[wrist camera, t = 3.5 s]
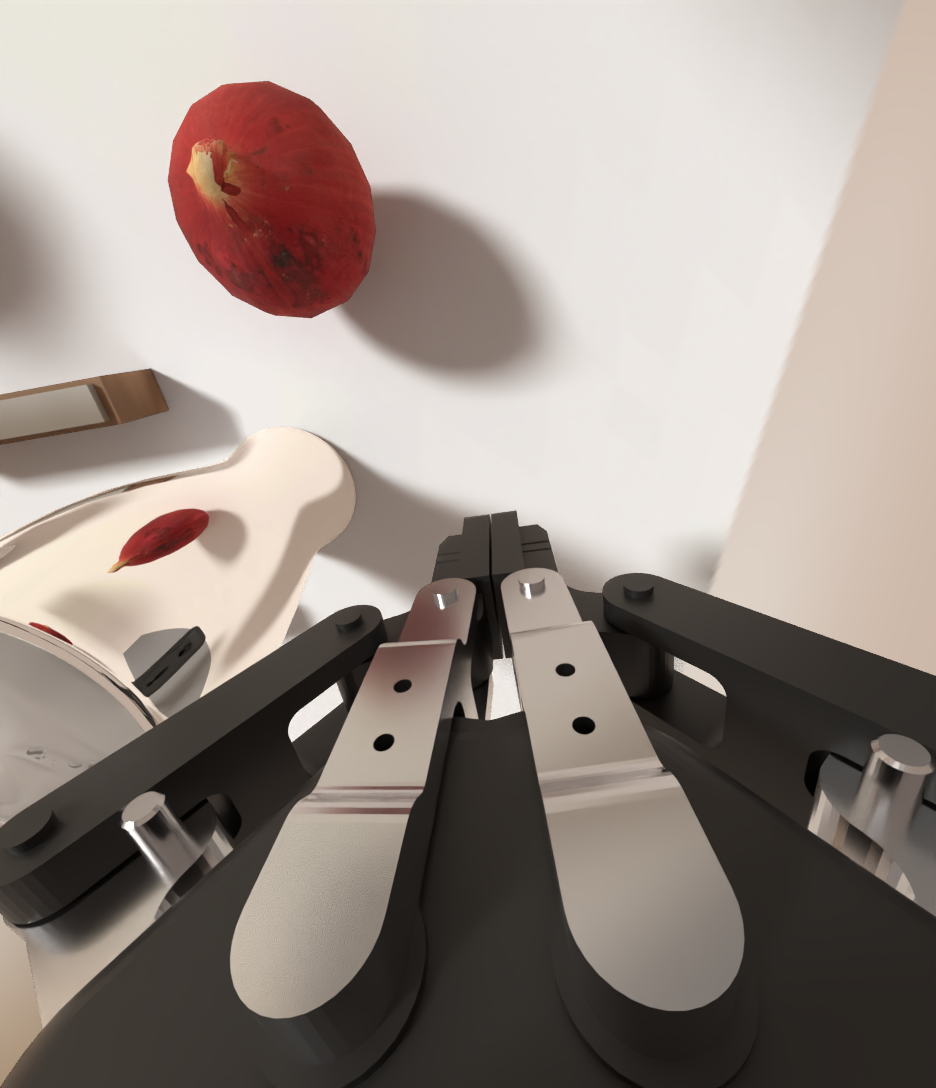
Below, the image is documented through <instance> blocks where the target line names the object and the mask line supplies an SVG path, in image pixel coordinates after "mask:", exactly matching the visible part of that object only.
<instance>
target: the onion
mask: <svg viewBox="0 0 936 1088" xmlns="http://www.w3.org/2000/svg"><path fill="white" fill-rule="evenodd" d="M168 183H169V188H170V192H171V197H172V202H173V206H174V211H175V216H176V220H177V222H178V225H179V227H180V229H181V230H182V232H183V234H184V236H185V238H186V240H187V241H188V243H189V245H190V247H191V249H192V251H193V252H194V254H195V256H196V258H197V260H198V261H199V262H200V263H201V264H202V265H203V266H204V267H205V268H206V269H207V270H208V271H209V272H210V273H211V274H212V275H213V276H214V277H215V278H216V279H217V280H218V281H219V282H220V283H221V284H222V285H223V286H224V287H225V288H226V290H227V291H228V292H229V293H230V294H231V295H232V296H234V297H236V298H238V299H240V300H242V301H244V302H246V303H248V304H250V305H252V306H254V307H256V308H258V309H260V310H262V311H264V312H266V313H269V314H272V315H276V316H289V317H303V318H313V317H315V316H317V315H319V314H321V313H323V312H325V311H327V310H330V309H332V308H334V307H336V306H338V305H340V304H342V303H344V302H346V301H348V300H349V299H350V297H351V296H352V294H353V293H354V292H355V290H356V289H357V287H358V286H359V285H360V283H361V282H362V280H363V279H364V277H365V276H366V275H367V273H368V272H369V266H370V261H371V255H372V249H373V244H374V238H375V232H376V229H375V221H374V213H373V204H372V196H371V188H370V185H369V183H368V180H367V178H366V176H365V174H364V171H363V169H362V167H361V165H360V163H359V160H358V158H357V156H356V154H355V151H354V149H353V147H352V145H351V143H350V142H349V141H348V140H347V139H346V137H345V136H344V135H343V134H342V133H341V132H340V130H339V129H338V128H337V127H336V126H335V125H334V123H333V122H332V121H331V120H330V119H329V118H328V116H327V115H326V114H325V113H324V112H323V111H322V109H321V108H320V107H319V106H317V105H316V104H315V103H314V102H313V101H311V100H310V99H308V98H306V97H304V96H301V95H299V94H297V93H294V92H292V91H290V90H288V89H285V88H283V87H281V86H279V85H276V84H274V83H272V82H269V81H263V82H248V83H234V84H226V85H221V86H220V87H218V88H217V89H215V90H214V91H212V92H211V93H209V94H208V95H206V96H205V97H203V98H201V99H200V100H198V101H197V102H195V103H194V104H192V106H191V107H190V109H189V111H188V113H187V115H186V116H185V118H184V120H183V122H182V124H181V126H180V128H179V130H178V132H177V134H176V136H175V138H174V140H173V145H172V153H171V160H170V168H169V175H168Z"/></svg>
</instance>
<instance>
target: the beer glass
mask: <svg viewBox="0 0 936 1088" xmlns="http://www.w3.org/2000/svg"><path fill="white" fill-rule="evenodd" d="M355 502H356V492H355V485H354V481H353V478H352V475H351V473H350V470H349V468H348V467H347V465H346V463H345V462H344V460H343V459H342V457H341V456H340V455H339V454H338V453H337V452H336V450H335V449H334V448H332V447H331V446H330V445H329V444H328V443H326V442H325V441H324V440H322V439H321V438H319V437H317V436H315V435H313V434H311V433H309V432H306V431H304V430H300V429H296V428H290V427H273V428H268V429H264V430H261V431H258V432H256V433H254V434H253V435H251V436H249V437H248V438H246V439H245V440H244V441H243V442H242V443H241V444H240V445H239V446H238V447H237V448H236V449H235V451H234V452H233V453H232V454H231V455H230V456H229V457H228V458H227V459H226V460H223V462H220V463H218V464H215V465H211V466H207V467H202V468H197V469H192V470H187V471H181V472H177V473H172V474H167V475H162V476H158V477H153V478H148V479H144V480H141V481H137V482H134V483H130V484H127V485H123V486H120V487H116V488H112V489H109V490H106V491H102V492H100V493H97V494H94V495H92V496H89V497H87V498H84V499H82V500H79V501H77V502H75V503H72V504H70V505H67V506H65V507H62V508H60V509H57V510H55V511H52V512H50V513H48V514H46V515H44V516H42V517H40V518H38V519H36V520H34V521H32V522H30V523H28V524H26V525H24V526H22V527H19V528H17V529H15V530H13V531H11V532H9V533H7V534H5V535H3V536H1V537H0V827H1V826H3V825H4V824H5V823H6V822H7V821H9V820H10V819H11V818H13V817H14V816H15V815H16V814H18V813H19V812H21V811H22V810H24V809H25V808H27V807H28V806H30V805H32V804H33V803H35V802H36V801H38V800H40V799H41V798H43V797H44V796H46V795H47V794H49V793H51V792H52V791H54V790H55V789H57V788H59V787H60V786H62V785H63V784H65V783H66V782H68V781H70V780H71V779H73V778H74V777H76V776H77V775H79V774H81V773H82V772H84V771H85V770H87V769H89V768H90V767H92V766H93V765H95V764H96V763H98V762H100V761H101V760H103V759H104V758H106V757H107V756H109V755H111V754H112V753H114V752H115V751H117V750H119V749H120V748H122V747H123V746H125V745H126V744H128V743H130V742H131V741H133V740H134V739H136V738H138V737H139V736H141V735H142V734H144V733H145V732H147V731H149V730H150V729H152V728H153V727H155V726H156V725H158V724H160V723H161V722H163V721H164V720H166V719H168V718H169V717H171V716H172V715H174V714H175V713H177V712H179V711H180V710H182V709H183V708H185V707H187V706H188V705H190V704H191V703H193V702H194V701H196V700H198V699H199V698H201V697H202V696H204V695H205V694H207V693H209V692H210V691H212V690H213V689H215V688H217V687H218V686H220V685H221V684H223V683H224V682H226V681H228V680H229V679H231V678H232V677H234V676H236V675H237V674H239V673H240V672H242V671H243V670H245V669H247V668H248V667H250V666H251V665H253V664H254V663H256V662H258V661H259V660H261V659H262V658H264V657H266V656H267V655H269V654H270V653H272V652H273V651H275V650H277V649H278V648H280V646H281V644H282V642H283V640H284V638H285V636H286V633H287V631H288V629H289V626H290V624H291V622H292V619H293V617H294V615H295V612H296V610H297V607H298V604H299V601H300V598H301V595H302V592H303V589H304V586H305V583H306V580H307V577H308V574H309V571H310V567H311V565H312V562H313V559H314V557H315V555H316V553H317V551H318V550H319V549H321V548H322V547H324V546H325V545H327V544H328V543H329V542H331V541H332V540H334V539H335V538H336V537H337V536H338V535H339V534H340V533H341V532H342V531H343V530H344V529H345V528H346V526H347V525H348V523H349V522H350V520H351V518H352V515H353V512H354V508H355Z"/></svg>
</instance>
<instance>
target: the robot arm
mask: <svg viewBox="0 0 936 1088" xmlns="http://www.w3.org/2000/svg"><path fill="white" fill-rule="evenodd" d="M502 638H503V644H504V650H505V656H506V658H511V657H512V662H513V668H514V675H515V681H516V687H517V692H518V698H519V704H520V709H521V712H518V713H514V714H511V715H508V716H504V717H501V718H498V719H494V720H490V717H491V706H492V695H493V679H492V670H493V659H502V658H503V646H502ZM674 656H675V657H677V658H679V659H681V660H683V661H685V662H687V663H689V664H691V665H693V666H695V667H698V668H699V669H702V670H703V671H706V672H707V673H709V674H711V675H712V676H713V677H715V678H716V679H717V680H718V681H719V682H720V684H721V685H722V686H723V688H724V690H725V692H726V696H727V697H726V696H724V695H722V694H720V693H718V692H716V691H714V690H712V689H710V688H709V687H706V686H705V685H703V684H701V683H699V682H697V681H695V680H693V679H691V678H689V677H687V676H685V675H683V674H682V673H680V672H678V671H676V670H674ZM335 683H337V685H338V688H339V691H340V693H341V696H342V698H343V701H344V702H343V703H341V704H340V705H339V706H337V707H336V708H335V709H334V710H332V711H331V712H330V713H329V714H327V715H326V716H325V717H324V718H322V719H321V720H320V721H319V722H317V723H316V724H315V725H314V726H312V727H311V728H310V729H309V730H307V731H306V732H305V733H303V734H302V735H301V736H300V737H298V738H297V739H296V740H295V741H293V742H291V740H290V738H289V736H288V727H289V723H290V721H291V719H292V718H293V716H294V715H295V714H296V713H297V712H298V711H299V710H300V709H301V708H303V707H304V706H305V705H307V704H308V703H309V702H311V701H312V700H313V699H315V698H316V697H317V696H319V695H320V694H321V693H323V692H324V691H325V690H327V689H328V688H329V687H331V686H332V685H333V684H335ZM0 914H2V915H3V920H4V922H5V924H6V925H7V926H8V927H9V928H11V930H13V931H14V932H15V933H16V934H17V935H18V936H19V937H20V938H21V939H23V940H24V941H25V942H26V946H27V951H28V957H29V962H30V967H31V972H32V977H33V982H34V988H35V993H36V998H37V1003H38V1008H39V1013H40V1019H41V1024H42V1031H41V1032H40V1033H39V1034H38V1035H37V1037H36V1038H35V1039H34V1041H33V1042H32V1043H31V1044H30V1046H29V1047H28V1048H27V1049H26V1051H25V1052H24V1053H23V1054H22V1056H21V1057H20V1059H19V1060H18V1062H17V1063H16V1065H15V1066H14V1067H13V1069H12V1071H11V1072H10V1073H9V1075H8V1076H7V1077H6V1079H5V1080H4V1082H3V1084H2V1085H1V1087H0V1088H936V676H934V675H932V674H929V673H926V672H923V671H920V670H918V669H915V668H912V667H909V666H907V665H903V664H901V663H898V662H895V661H893V660H890V659H887V658H884V657H881V656H879V655H876V654H873V653H870V652H867V651H865V650H862V649H859V648H856V647H853V646H851V645H848V644H845V643H842V642H840V641H837V640H834V639H831V638H829V637H825V636H823V635H820V634H817V633H815V632H812V631H809V630H806V629H803V628H801V627H798V626H795V625H792V624H790V623H787V622H784V621H781V620H778V619H776V618H772V617H770V616H767V615H765V614H762V613H759V612H756V611H753V610H751V609H748V608H745V607H742V606H739V605H737V604H734V603H731V602H728V601H725V600H723V599H720V598H717V597H714V596H712V595H709V594H706V593H703V592H700V591H698V590H695V589H692V588H689V587H687V586H684V585H681V584H678V583H675V582H673V581H670V580H667V579H664V578H662V577H659V576H655V575H651V574H644V573H630V574H624V575H619V576H617V577H614V578H612V579H610V580H609V581H608V582H606V584H605V585H604V587H603V590H602V593H592V592H583V591H579V590H575V589H573V588H570V587H568V586H567V585H566V583H565V581H564V579H563V577H562V576H561V575H560V574H559V573H558V571H557V568H556V564H555V560H554V556H553V553H552V549H551V545H550V542H549V538H548V534H547V531H546V530H544V529H543V528H541V527H540V526H539V525H529V526H522V527H519V526H518V519H517V512H516V511H510V512H502V513H495V514H491V519H490V515H489V514H488V515H481V516H474V517H466V518H464V525H463V533H462V535H455V536H448V537H447V538H446V539H445V540H444V541H443V542H442V543H441V544H440V546H439V550H438V556H437V560H436V564H435V569H434V573H433V578H432V583H430V584H429V585H427V586H425V587H424V588H422V589H421V590H420V591H419V592H418V594H417V595H416V598H415V600H414V603H413V605H412V608H411V610H410V611H409V612H406V613H404V614H401V615H398V616H395V617H391V618H388V619H385V620H383V618H382V615H381V612H380V610H379V609H378V608H376V607H374V606H370V605H356V606H351V607H348V608H345V609H342V610H340V611H337V612H335V613H334V614H332V615H330V616H329V617H327V618H326V619H324V620H322V621H321V622H319V623H318V624H316V625H315V626H313V627H311V628H310V629H308V630H307V631H305V632H303V633H302V634H300V635H299V636H297V637H296V638H294V639H292V640H291V641H289V642H288V643H286V644H285V645H283V646H281V647H280V648H278V649H277V650H275V651H273V652H272V653H270V654H269V655H267V656H266V657H264V658H262V659H261V660H259V661H258V662H256V663H254V664H253V665H251V666H250V667H248V668H247V669H245V670H243V671H242V672H240V673H239V674H237V675H236V676H234V677H232V678H231V679H229V680H228V681H226V682H224V683H223V684H221V685H220V686H218V687H217V688H215V689H213V690H212V691H210V692H209V693H207V694H205V695H204V696H202V697H201V698H199V699H198V700H196V701H194V702H193V703H191V704H190V705H188V706H187V707H185V708H183V709H182V710H180V711H179V712H177V713H175V714H174V715H172V716H171V717H169V718H168V719H166V720H164V721H163V722H161V723H160V724H158V725H156V726H155V727H153V728H152V729H150V730H149V731H147V732H145V733H144V734H142V735H141V736H139V737H138V738H136V739H134V740H133V741H131V742H130V743H128V744H126V745H125V746H123V747H122V748H120V749H119V750H117V751H115V752H114V753H112V754H111V755H109V756H107V757H106V758H104V759H103V760H101V761H100V762H98V763H96V764H95V765H93V766H92V767H90V768H89V769H87V770H85V771H84V772H82V773H81V774H79V775H77V776H76V777H74V778H73V779H71V780H70V781H68V782H66V783H65V784H63V785H62V786H60V787H59V788H57V789H55V790H54V791H52V792H51V793H49V794H47V795H46V796H44V797H43V798H41V799H40V800H38V801H36V802H35V803H33V804H32V805H30V806H28V807H27V808H25V809H24V810H22V811H21V812H19V813H18V814H16V815H15V816H14V817H13V818H11V819H10V820H9V821H7V822H6V823H5V824H4V825H3V826H1V827H0Z"/></svg>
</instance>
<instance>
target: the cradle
mask: <svg viewBox="0 0 936 1088" xmlns="http://www.w3.org/2000/svg"><path fill="white" fill-rule="evenodd" d="M168 410H169V409H168V407H167V404H166V402H165V400H164V397H163V395H162V393H161V390H160V388H159V386H158V383H157V381H156V379H155V377H154V374H153V372H152V370H151V369H145V370H139V371H132V372H125V373H119V374H112V375H105V376H99V377H93V378H88V379H82V380H77V381H72V382H66V383H61V384H56V385H50V386H45V387H39V388H34V389H29V390H23V391H18V392H12V393H7V394H2V395H0V445H2V444H7V443H13V442H19V441H25V440H31V439H36V438H42V437H48V436H54V435H60V434H66V433H71V432H77V431H83V430H89V429H95V428H100V427H106V426H112V425H118V424H123V423H126V422H130V421H133V420H137V419H140V418H144V417H147V416H151V415H154V414H158V413H161V412H165V411H168Z"/></svg>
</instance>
